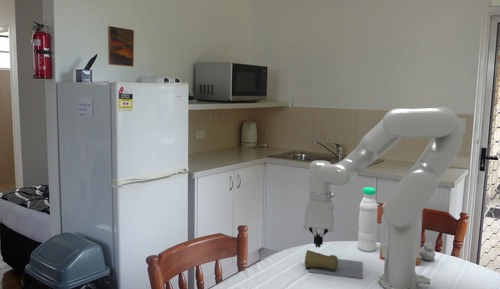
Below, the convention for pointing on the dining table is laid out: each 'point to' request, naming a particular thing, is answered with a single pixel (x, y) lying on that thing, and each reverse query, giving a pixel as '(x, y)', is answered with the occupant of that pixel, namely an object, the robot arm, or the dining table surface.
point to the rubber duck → (427, 251)
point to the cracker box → (383, 237)
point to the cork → (320, 260)
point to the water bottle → (367, 221)
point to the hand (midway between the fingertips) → (318, 246)
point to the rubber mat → (342, 269)
